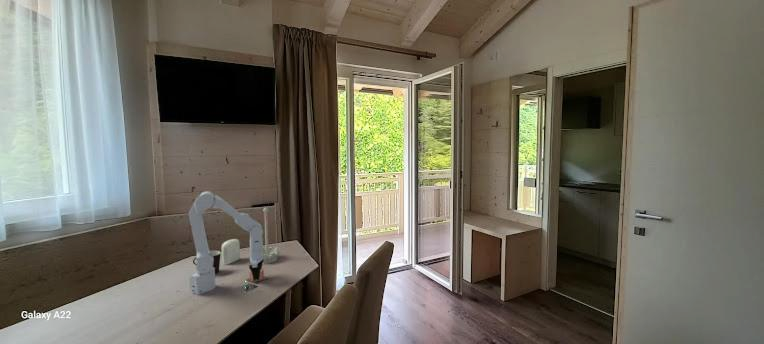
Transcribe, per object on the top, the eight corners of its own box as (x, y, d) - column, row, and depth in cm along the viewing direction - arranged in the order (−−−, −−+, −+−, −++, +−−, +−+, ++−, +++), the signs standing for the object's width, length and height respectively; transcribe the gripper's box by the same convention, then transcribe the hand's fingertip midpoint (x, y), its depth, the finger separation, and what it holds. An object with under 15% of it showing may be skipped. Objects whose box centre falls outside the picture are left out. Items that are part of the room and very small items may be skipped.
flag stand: (253, 258, 179) (251, 206, 176) (277, 254, 185) (275, 204, 182) (256, 265, 167) (254, 210, 165) (281, 261, 173) (279, 208, 171)
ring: (249, 281, 144) (249, 273, 144) (251, 276, 150) (251, 268, 150) (263, 280, 146) (262, 272, 146) (264, 275, 152) (264, 267, 151)
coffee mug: (224, 269, 162) (224, 251, 161) (214, 276, 154) (213, 256, 153) (204, 268, 163) (203, 250, 162) (192, 275, 155) (191, 256, 154)
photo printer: (226, 265, 168) (225, 243, 167) (220, 264, 169) (219, 242, 168) (241, 259, 177) (240, 237, 176) (235, 258, 179) (234, 237, 178)
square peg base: (256, 286, 143) (255, 276, 143) (246, 282, 147) (245, 273, 146) (268, 280, 149) (268, 271, 149) (258, 277, 153) (258, 268, 153)
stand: (245, 294, 135) (244, 285, 135) (234, 291, 138) (234, 282, 138) (258, 288, 141) (258, 279, 141) (248, 284, 144) (248, 276, 144)
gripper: (263, 253, 141) (264, 282, 142) (266, 243, 155) (267, 269, 156) (246, 254, 139) (248, 283, 140) (251, 244, 153) (252, 271, 154)
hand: (257, 276), depth 148 cm, fingers closed on ring, 6 cm apart
